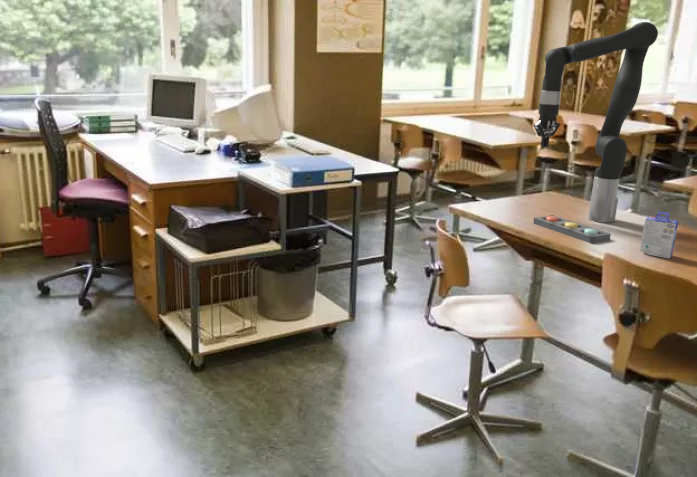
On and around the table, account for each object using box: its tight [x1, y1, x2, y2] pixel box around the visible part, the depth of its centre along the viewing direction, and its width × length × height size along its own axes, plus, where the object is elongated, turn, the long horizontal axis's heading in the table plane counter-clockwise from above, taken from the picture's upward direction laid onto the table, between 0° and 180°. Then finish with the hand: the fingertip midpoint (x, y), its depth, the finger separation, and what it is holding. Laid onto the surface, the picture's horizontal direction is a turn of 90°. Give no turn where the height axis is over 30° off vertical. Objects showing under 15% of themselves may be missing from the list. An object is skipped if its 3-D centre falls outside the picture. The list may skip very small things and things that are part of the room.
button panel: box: [533, 214, 612, 244], centre depth 252 cm, size 27×10×3 cm, turn 32°
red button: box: [546, 215, 559, 222], centre depth 259 cm, size 5×5×2 cm
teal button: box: [584, 228, 599, 235], centre depth 245 cm, size 5×5×2 cm
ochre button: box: [565, 221, 578, 229], centre depth 252 cm, size 5×5×2 cm
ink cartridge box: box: [639, 211, 679, 259], centre depth 230 cm, size 10×6×14 cm, turn 58°
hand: (544, 147), depth 270 cm, fingers closed
